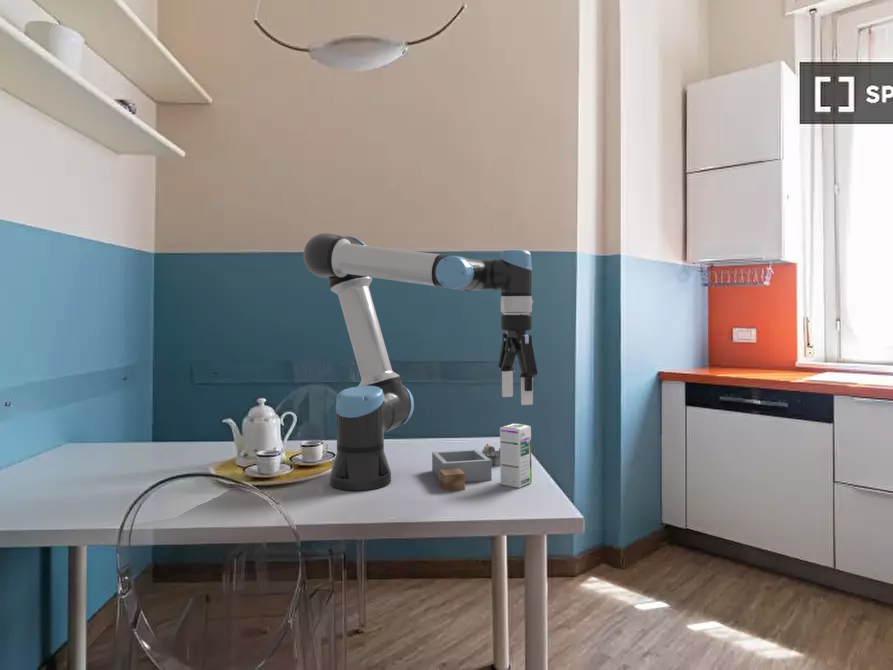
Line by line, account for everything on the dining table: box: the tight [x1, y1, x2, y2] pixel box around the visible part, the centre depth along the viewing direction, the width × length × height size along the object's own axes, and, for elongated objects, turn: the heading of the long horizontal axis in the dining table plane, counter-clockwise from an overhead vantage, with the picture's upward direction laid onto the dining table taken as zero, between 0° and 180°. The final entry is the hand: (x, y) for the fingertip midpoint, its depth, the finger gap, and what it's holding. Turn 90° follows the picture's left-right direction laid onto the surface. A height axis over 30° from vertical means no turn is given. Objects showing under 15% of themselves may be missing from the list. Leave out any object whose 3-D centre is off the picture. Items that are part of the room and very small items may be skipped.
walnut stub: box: [439, 469, 466, 492], centre depth 154 cm, size 5×5×4 cm
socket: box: [431, 448, 492, 483], centre depth 165 cm, size 12×12×5 cm
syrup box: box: [499, 423, 533, 489], centre depth 157 cm, size 6×6×14 cm
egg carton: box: [480, 443, 500, 467], centre depth 180 cm, size 11×8×4 cm
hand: (516, 400), depth 156 cm, fingers open, 13 cm apart
